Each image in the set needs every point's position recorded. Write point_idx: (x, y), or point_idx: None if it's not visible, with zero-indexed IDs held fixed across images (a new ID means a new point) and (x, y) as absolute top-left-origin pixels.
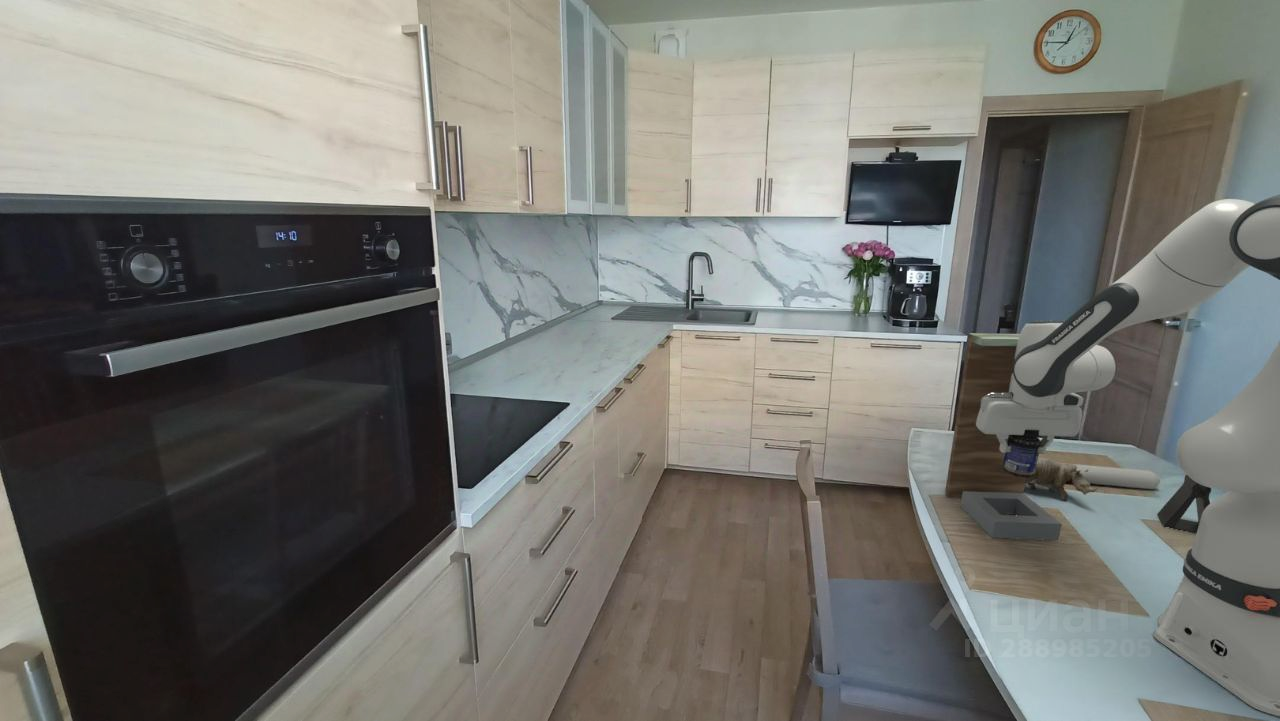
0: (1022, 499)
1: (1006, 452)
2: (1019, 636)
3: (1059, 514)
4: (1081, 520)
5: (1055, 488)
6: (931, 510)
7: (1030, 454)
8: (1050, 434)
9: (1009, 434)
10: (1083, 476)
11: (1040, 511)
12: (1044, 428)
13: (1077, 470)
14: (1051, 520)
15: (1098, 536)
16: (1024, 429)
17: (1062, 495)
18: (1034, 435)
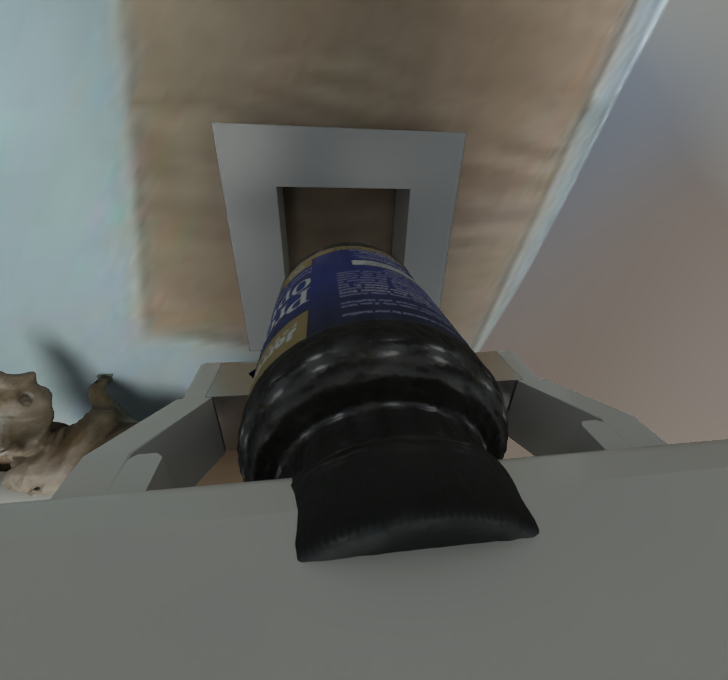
0: (273, 309)
1: (486, 352)
2: None
3: (152, 302)
4: (93, 271)
5: (117, 410)
6: (509, 292)
7: (374, 291)
8: (100, 509)
9: (653, 446)
10: (2, 485)
11: (251, 225)
12: (190, 620)
13: (10, 502)
14: (241, 153)
15: (69, 164)
16: (555, 535)
17: (105, 389)
18: (386, 445)
